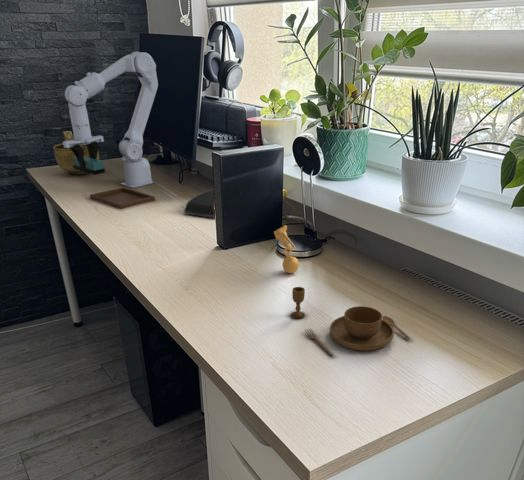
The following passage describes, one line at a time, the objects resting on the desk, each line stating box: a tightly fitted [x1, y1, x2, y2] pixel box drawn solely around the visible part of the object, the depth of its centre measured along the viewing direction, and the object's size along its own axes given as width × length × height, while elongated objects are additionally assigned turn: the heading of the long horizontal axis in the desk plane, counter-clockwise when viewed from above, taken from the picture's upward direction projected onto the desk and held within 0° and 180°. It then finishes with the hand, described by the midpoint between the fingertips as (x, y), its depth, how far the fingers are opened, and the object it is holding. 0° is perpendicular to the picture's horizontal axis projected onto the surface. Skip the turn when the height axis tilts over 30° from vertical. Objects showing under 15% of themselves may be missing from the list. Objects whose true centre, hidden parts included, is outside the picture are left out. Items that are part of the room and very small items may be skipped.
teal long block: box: [73, 156, 106, 175], centre depth 184 cm, size 14×4×4 cm, turn 48°
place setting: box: [290, 286, 411, 357], centre depth 100 cm, size 18×20×6 cm
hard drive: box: [183, 188, 216, 219], centre depth 167 cm, size 13×19×4 cm
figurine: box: [273, 224, 300, 274], centre depth 121 cm, size 8×6×12 cm
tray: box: [89, 186, 156, 210], centre depth 177 cm, size 14×19×2 cm
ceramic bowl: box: [52, 130, 100, 176], centre depth 207 cm, size 22×17×15 cm
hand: (88, 166), depth 184 cm, fingers closed on teal long block, 4 cm apart
